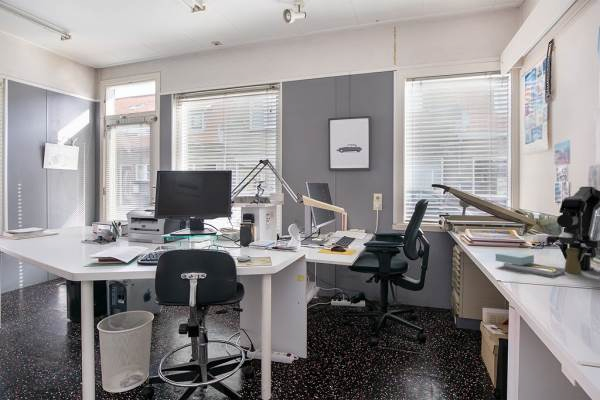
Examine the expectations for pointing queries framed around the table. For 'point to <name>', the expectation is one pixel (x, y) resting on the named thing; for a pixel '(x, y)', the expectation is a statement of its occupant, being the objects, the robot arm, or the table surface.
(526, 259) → the cover
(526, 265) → the board
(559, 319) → the table surface
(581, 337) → the table surface
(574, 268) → the cork
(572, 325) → the table surface
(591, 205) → the robot arm
